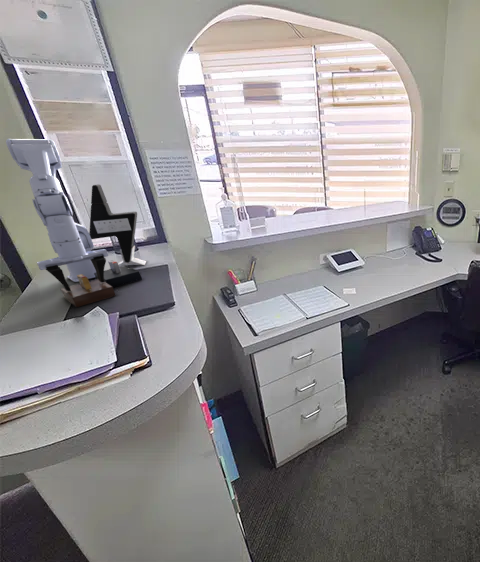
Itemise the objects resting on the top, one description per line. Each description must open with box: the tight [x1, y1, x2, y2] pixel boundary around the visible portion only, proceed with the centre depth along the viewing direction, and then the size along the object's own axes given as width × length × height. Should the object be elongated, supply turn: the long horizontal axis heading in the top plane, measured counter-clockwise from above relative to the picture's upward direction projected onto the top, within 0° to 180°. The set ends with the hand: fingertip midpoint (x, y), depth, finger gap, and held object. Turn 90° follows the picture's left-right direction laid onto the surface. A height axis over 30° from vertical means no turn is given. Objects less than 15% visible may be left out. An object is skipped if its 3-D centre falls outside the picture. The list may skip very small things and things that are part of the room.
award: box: [88, 183, 147, 267], centre depth 113 cm, size 15×5×30 cm, turn 117°
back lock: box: [108, 260, 121, 274], centre depth 102 cm, size 5×1×4 cm, turn 55°
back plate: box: [94, 265, 143, 288], centre depth 103 cm, size 12×9×3 cm
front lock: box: [77, 274, 91, 290], centre depth 89 cm, size 5×1×4 cm, turn 55°
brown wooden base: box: [60, 279, 117, 308], centre depth 91 cm, size 12×9×3 cm
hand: (85, 285), depth 90 cm, fingers open, 7 cm apart
